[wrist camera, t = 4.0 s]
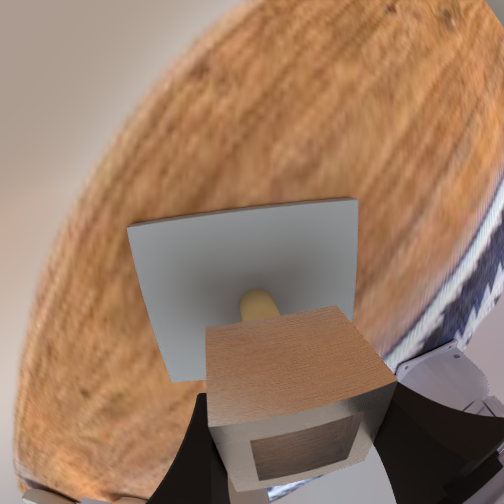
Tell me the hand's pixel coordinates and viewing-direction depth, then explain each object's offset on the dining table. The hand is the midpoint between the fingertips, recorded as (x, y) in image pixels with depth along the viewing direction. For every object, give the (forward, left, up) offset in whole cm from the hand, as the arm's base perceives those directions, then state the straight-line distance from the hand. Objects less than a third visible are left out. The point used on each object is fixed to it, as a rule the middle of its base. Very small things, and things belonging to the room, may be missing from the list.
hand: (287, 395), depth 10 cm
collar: (0, 0, -2) cm, 2 cm away
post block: (0, 0, -9) cm, 9 cm away
